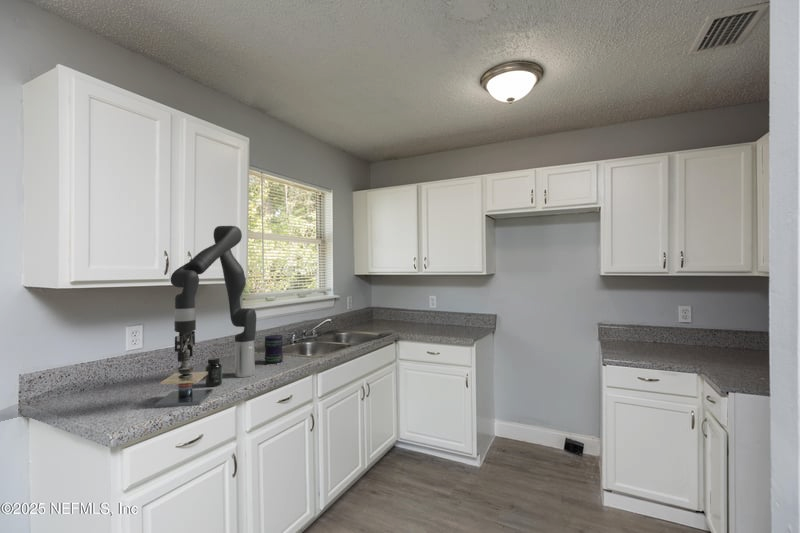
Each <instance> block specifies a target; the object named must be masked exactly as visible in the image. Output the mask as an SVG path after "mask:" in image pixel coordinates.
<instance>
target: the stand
mask: <svg viewBox="0 0 800 533" xmlns="http://www.w3.org/2000/svg"><path fill="white" fill-rule="evenodd" d="M189 374H192V375H193V376H192V377H189V378H178V377H179V376H180V375H183V374H180V373H179V372H175V373H173V374H171V375H170V376H168V377H166V378H164V379H163V380H162V381H160V385H177V390H174V391H171V392H169V393H168V394H167V395H165V396H164V397H162V398H161V399H159V401H157V402H156V403H155V404H154V408H169V407H170V408H171V407H186V406H200V405H201V404H202V403H203V402H204V401H205V400H206V399H207V398H208V397H209V396H210V395H211V394H213V392H214V389H213V388H210V389H193V385H194V384H195V383H196V384H197V383H198V382H200V381H202V379H204V378H205V376H206V375H207V374H208V372H205V371H192V372H191V373H189Z"/></svg>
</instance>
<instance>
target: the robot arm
mask: <svg viewBox="0 0 800 533" xmlns="http://www.w3.org/2000/svg"><path fill="white" fill-rule="evenodd" d="M242 236H243V234H242V230H241V228H239V227H238V226H235V225H218V226H216V227H214V230H213V241H214V243H213V244H212V245H210V246H208V247H206V248H205V249H202V250H201V251H200V252H198V253H197V254H195V256H194V257H193V258H192V259H191V260H190V261H189V262H187V263H184V264H183V265H181V266H180V267H178V268H177V269H176V270H174V271H173V273H172V274H171V276H170V283H171V285H172V286H173V287H174V288H175V287H176V288H182V292H181V293H178V294H176V295H175V298H174V316H173V317H174V324H173V325H174V332H176V333H178V336H177V335H176V336H175V337H174V352H176V353H177V362H178V363H182V362H183V361H184V351H185V347H186V349H189V350H190V357H191V358H192V357H193V351H194V350H193V349H194V346H195V345H196V334H195V333H196V330H197V328H196V326H197V325H196V318H197V316H196V315H197V313H196V308H195V307H196V305H195V304H196V301H195V300H196V299H195V298H196V294H197V290H198V288H199V284H200V278H199V277H200V276H199V275H202V274H204V273H205V272H206V271H207V270H208V269H209V268H210V267H211V266H212V264H214V263H215V262H216V261H217V260H218V259H219V260H220V263H221V264H220V265H221V269H222V273H223V280H224V284H225V288H226V292H227V299H228V305H229V315H230V321H231V324H232V326H234V327H237V328H238V327H239V328H243V330H242V332H240V333H238V334H237V333H236V335H235V336H234V377H236V378H246V377H247V378H248V377H251V376H254V375H255V374H256V371H255V369H256V368H255V367H256V366H255V365H256V361H255V360H256V358H255V357H256V352H255V351H256V350H255V349H256V340H255V337H256V333H257V331H256V330H257V312H256V310H255V309H254V308H250V307H249V308H244V307H243V308H242V306H241V296H242V294H243V293H244V292H243V291H244V290H245V287H246V283H247V281H246V276H245V275H246V274H245V271H244V269H243V266H242V264H241V263H239V261H238V260H237V258H236V257H235V256H234V254H233V253H232V249H233V248H234V247H236V246H237V245H239V243H240V242H241V241H242V238H243V237H242Z"/></svg>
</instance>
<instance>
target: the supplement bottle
mask: <svg viewBox="0 0 800 533" xmlns="http://www.w3.org/2000/svg"><path fill="white" fill-rule="evenodd" d="M220 359H221V358H220V357H210V358H207V365H206V366H205V368H204V369H205V371H204V372H208V374H207V375H206V376H205V377H204V378H205V387H207V388H215V387H219V386H221V385H222V384H223V365H222V363H220V362H221V361H220Z"/></svg>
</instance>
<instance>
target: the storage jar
mask: <svg viewBox="0 0 800 533" xmlns="http://www.w3.org/2000/svg"><path fill="white" fill-rule="evenodd" d="M283 343H284V338H283V335H281V334H270V335H266V336H264V347H265V348H264V349H265V350H264V351H265V353H264V364H265V363H266V364H265V365H267V364H276V365H278V364H277V363H281V362H283V360H284V355H283V354H284V353H283V345H284V344H283ZM281 364H282V363H281Z"/></svg>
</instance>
